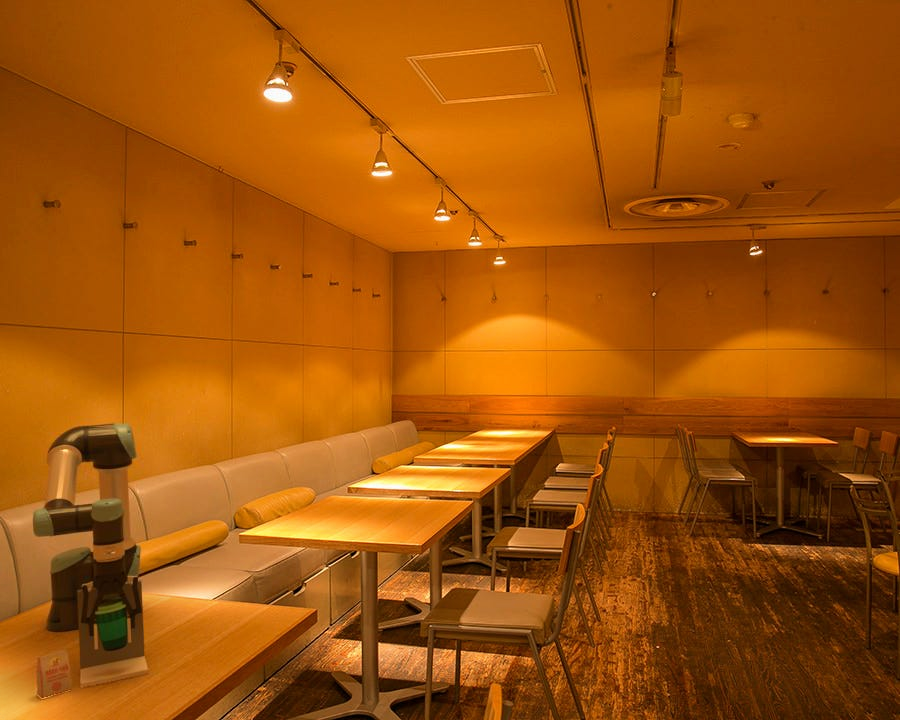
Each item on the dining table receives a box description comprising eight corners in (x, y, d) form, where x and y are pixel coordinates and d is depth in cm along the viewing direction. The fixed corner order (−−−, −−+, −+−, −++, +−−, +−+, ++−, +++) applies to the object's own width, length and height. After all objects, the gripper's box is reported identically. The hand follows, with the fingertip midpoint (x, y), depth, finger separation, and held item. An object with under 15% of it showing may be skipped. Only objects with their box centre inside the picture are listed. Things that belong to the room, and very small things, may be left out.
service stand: (80, 670, 198) (77, 590, 198) (144, 657, 205) (140, 579, 205) (80, 688, 187) (77, 602, 187) (148, 673, 194) (144, 591, 194)
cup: (106, 654, 189) (104, 608, 189) (89, 649, 193) (87, 603, 193) (135, 644, 195) (133, 599, 195) (118, 638, 200) (116, 594, 200)
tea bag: (37, 695, 184) (35, 655, 184) (66, 686, 189) (64, 647, 189) (41, 699, 181) (39, 659, 181) (70, 690, 186) (69, 651, 186)
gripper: (66, 567, 186) (70, 657, 186) (151, 555, 195) (155, 640, 195) (66, 561, 193) (70, 647, 193) (149, 549, 202) (152, 632, 202)
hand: (113, 644), depth 194 cm, fingers closed on cup, 7 cm apart
